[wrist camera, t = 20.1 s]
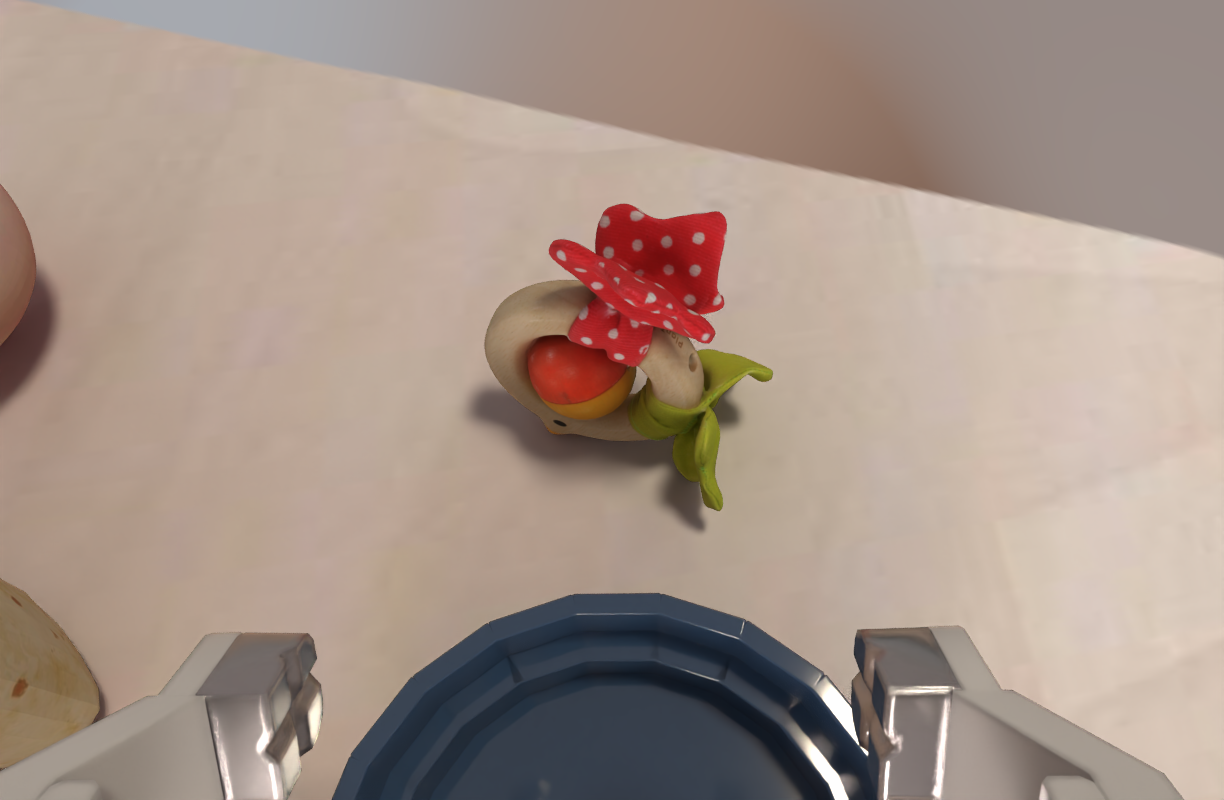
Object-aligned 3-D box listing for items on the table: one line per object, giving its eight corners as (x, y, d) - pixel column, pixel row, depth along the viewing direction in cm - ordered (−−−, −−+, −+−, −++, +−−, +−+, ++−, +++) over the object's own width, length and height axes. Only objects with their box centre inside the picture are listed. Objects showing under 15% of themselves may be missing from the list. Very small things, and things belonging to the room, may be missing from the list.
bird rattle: (554, 521, 34) (792, 525, 30) (362, 378, 26) (659, 354, 22) (585, 374, 37) (808, 358, 33) (421, 198, 28) (696, 147, 24)
